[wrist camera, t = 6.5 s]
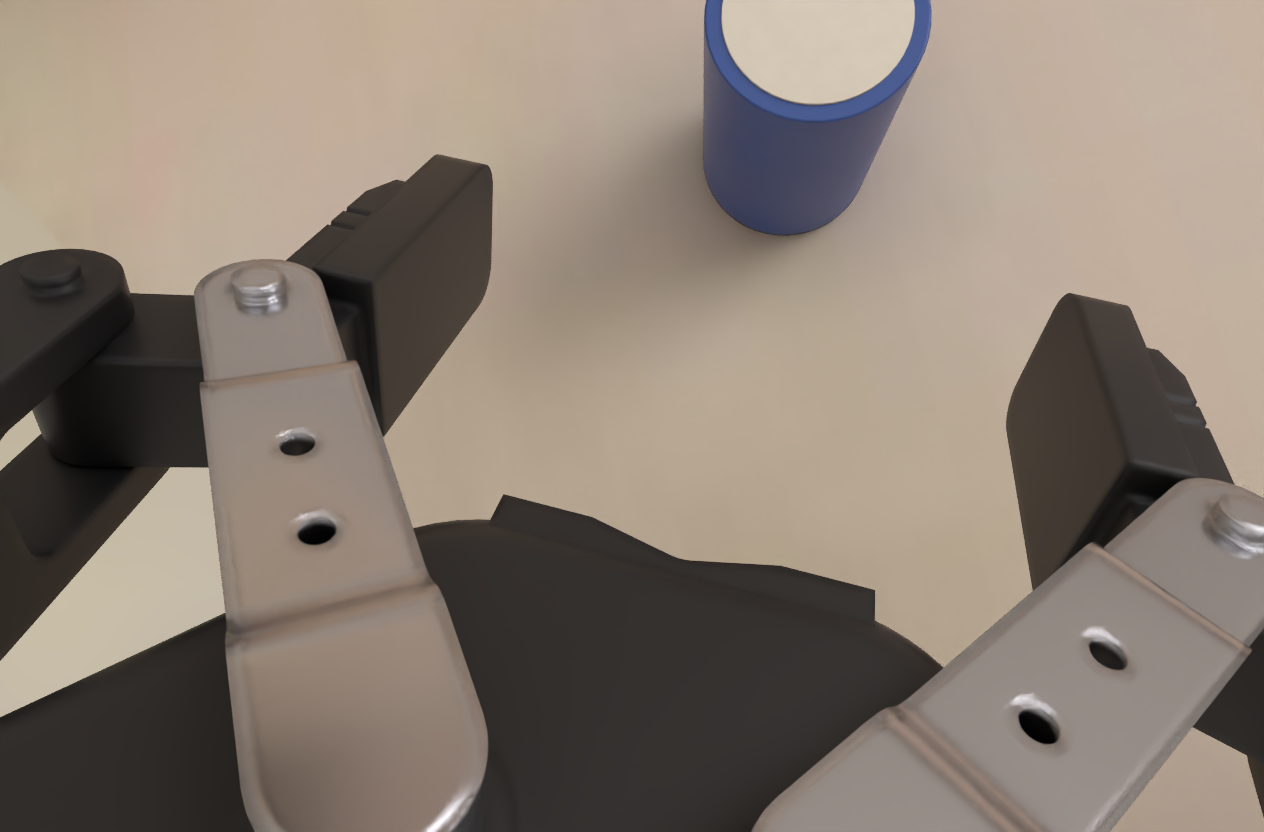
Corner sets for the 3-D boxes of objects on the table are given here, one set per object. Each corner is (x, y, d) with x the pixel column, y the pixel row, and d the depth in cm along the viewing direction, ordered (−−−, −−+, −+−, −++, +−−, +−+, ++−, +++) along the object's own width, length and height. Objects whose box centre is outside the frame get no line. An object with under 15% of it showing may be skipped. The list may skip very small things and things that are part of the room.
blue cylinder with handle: (916, -44, 29) (999, -263, 21) (846, 251, 28) (905, 141, 20) (760, -73, 29) (782, -297, 21) (686, 216, 28) (680, 95, 20)
